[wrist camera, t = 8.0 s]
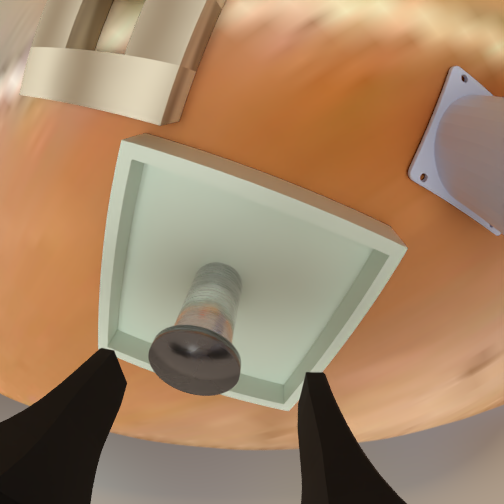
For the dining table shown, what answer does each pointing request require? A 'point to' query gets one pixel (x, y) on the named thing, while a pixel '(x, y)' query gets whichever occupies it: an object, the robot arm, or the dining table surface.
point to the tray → (237, 262)
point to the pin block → (120, 57)
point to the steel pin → (202, 336)
